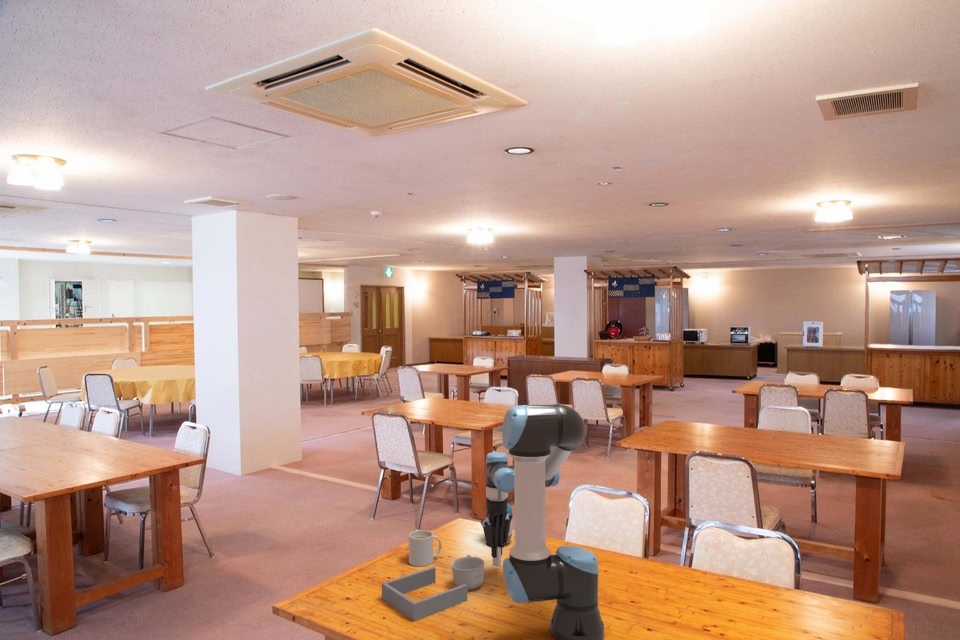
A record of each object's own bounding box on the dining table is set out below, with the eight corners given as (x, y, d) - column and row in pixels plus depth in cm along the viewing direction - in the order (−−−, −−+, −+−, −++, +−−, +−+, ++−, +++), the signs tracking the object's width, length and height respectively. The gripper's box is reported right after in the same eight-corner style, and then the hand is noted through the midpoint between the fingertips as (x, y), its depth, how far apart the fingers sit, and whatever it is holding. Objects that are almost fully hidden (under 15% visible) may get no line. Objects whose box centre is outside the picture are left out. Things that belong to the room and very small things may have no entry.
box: (467, 601, 195) (467, 585, 195) (414, 621, 182) (414, 604, 182) (433, 581, 209) (433, 566, 209) (381, 599, 196) (381, 583, 196)
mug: (404, 565, 223) (404, 537, 222) (415, 555, 232) (415, 528, 232) (433, 568, 219) (433, 540, 219) (442, 558, 228) (442, 531, 228)
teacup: (480, 594, 199) (480, 570, 199) (448, 591, 201) (448, 567, 201) (488, 576, 213) (488, 553, 213) (458, 574, 215) (458, 551, 215)
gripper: (503, 492, 221) (503, 557, 222) (475, 499, 213) (475, 567, 213) (518, 496, 216) (518, 564, 216) (489, 504, 207) (489, 574, 208)
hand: (496, 565), depth 215 cm, fingers closed
